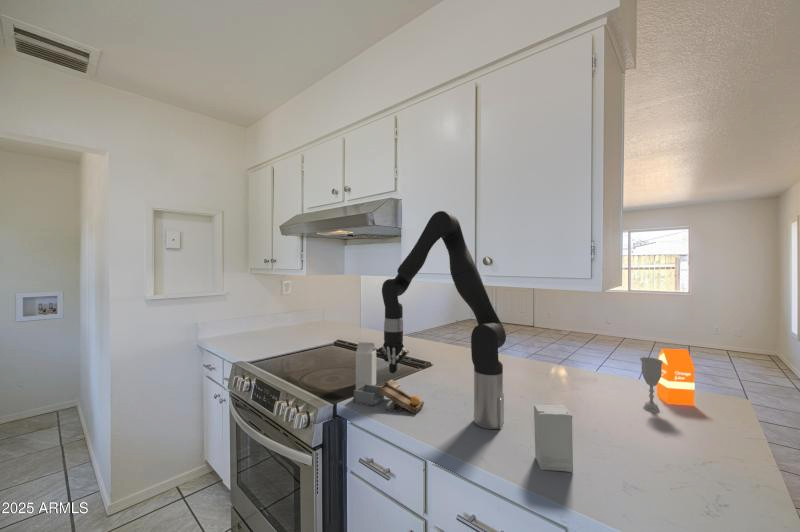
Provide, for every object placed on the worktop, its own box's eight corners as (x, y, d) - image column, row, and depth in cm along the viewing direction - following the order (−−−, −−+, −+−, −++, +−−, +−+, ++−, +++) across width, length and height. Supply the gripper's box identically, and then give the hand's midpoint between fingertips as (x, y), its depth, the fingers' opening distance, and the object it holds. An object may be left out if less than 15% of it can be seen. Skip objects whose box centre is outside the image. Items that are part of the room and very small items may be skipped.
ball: (421, 405, 121) (421, 395, 120) (417, 408, 117) (418, 399, 117) (412, 402, 122) (413, 393, 122) (408, 406, 119) (409, 396, 119)
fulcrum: (408, 402, 126) (408, 395, 126) (397, 412, 118) (397, 404, 118) (396, 400, 128) (396, 393, 128) (385, 409, 120) (385, 401, 120)
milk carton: (371, 390, 139) (371, 344, 139) (355, 388, 140) (355, 343, 140) (376, 384, 146) (376, 341, 146) (360, 382, 147) (360, 340, 147)
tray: (384, 398, 130) (384, 387, 130) (373, 406, 123) (373, 394, 123) (364, 394, 134) (364, 383, 134) (353, 401, 127) (353, 390, 127)
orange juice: (694, 405, 124) (694, 352, 124) (667, 403, 126) (667, 351, 126) (681, 397, 132) (681, 347, 131) (656, 395, 133) (656, 346, 133)
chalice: (642, 403, 125) (642, 356, 125) (664, 409, 121) (664, 359, 121) (637, 409, 120) (638, 360, 120) (661, 415, 116) (661, 364, 115)
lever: (427, 402, 127) (429, 396, 126) (415, 414, 116) (417, 408, 116) (391, 381, 134) (392, 376, 133) (376, 391, 123) (378, 385, 123)
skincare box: (566, 460, 89) (566, 404, 89) (574, 474, 83) (574, 414, 83) (533, 457, 91) (533, 402, 90) (538, 470, 85) (538, 412, 85)
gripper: (412, 329, 131) (412, 372, 132) (383, 326, 137) (383, 367, 138) (404, 332, 125) (403, 378, 125) (374, 329, 131) (373, 373, 131)
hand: (393, 372), depth 131 cm, fingers closed
